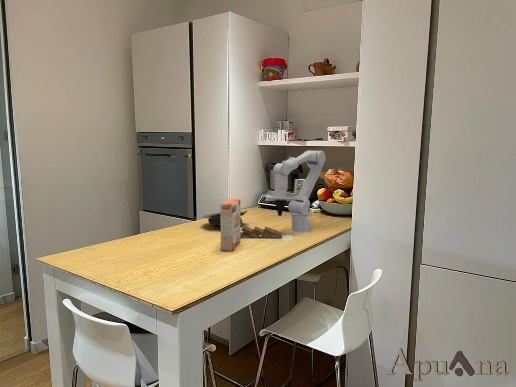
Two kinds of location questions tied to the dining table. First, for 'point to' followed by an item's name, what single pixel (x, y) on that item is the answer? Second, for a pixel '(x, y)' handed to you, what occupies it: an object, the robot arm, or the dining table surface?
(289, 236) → the mat
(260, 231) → the brown wooden block
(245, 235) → the brown wooden block
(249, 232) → the brown wooden block
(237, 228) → the cracker box
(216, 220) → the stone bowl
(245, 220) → the dining table surface
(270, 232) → the tile
